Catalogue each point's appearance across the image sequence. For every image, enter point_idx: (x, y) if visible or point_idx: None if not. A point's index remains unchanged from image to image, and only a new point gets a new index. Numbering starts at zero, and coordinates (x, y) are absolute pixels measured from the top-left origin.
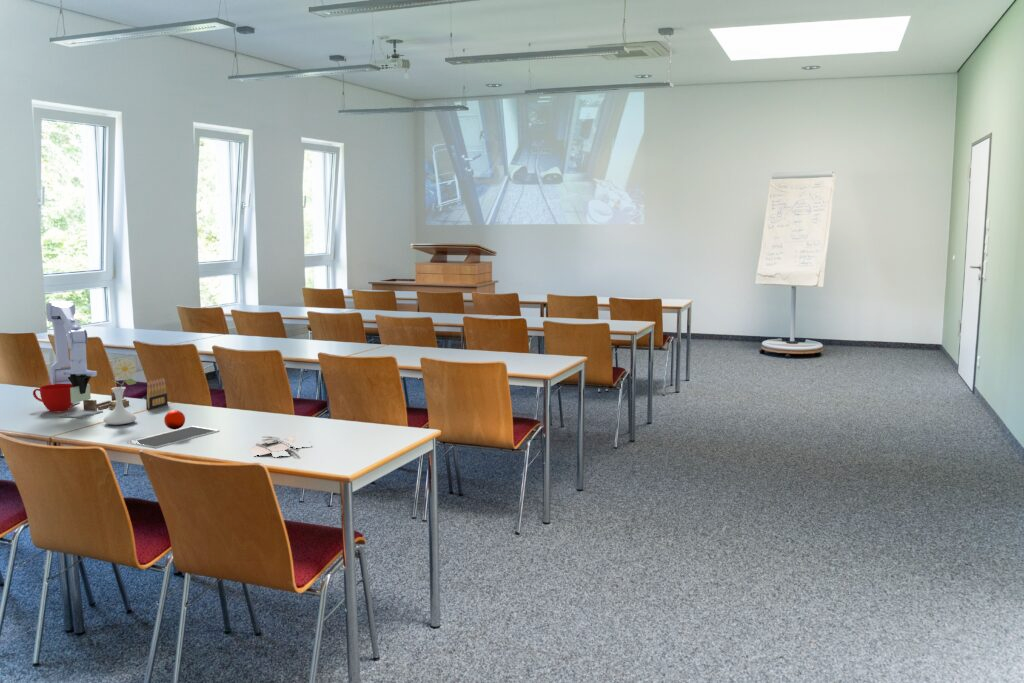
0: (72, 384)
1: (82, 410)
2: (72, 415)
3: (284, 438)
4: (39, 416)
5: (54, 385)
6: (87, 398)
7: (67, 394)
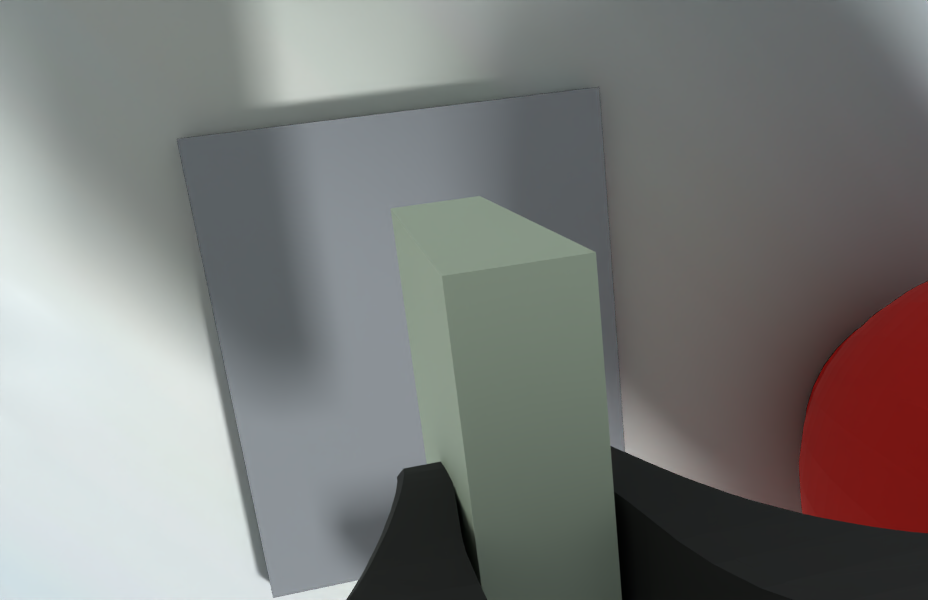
0: (750, 509)
1: None
2: (429, 180)
3: None
4: (892, 15)
5: None
6: None
7: (905, 509)
